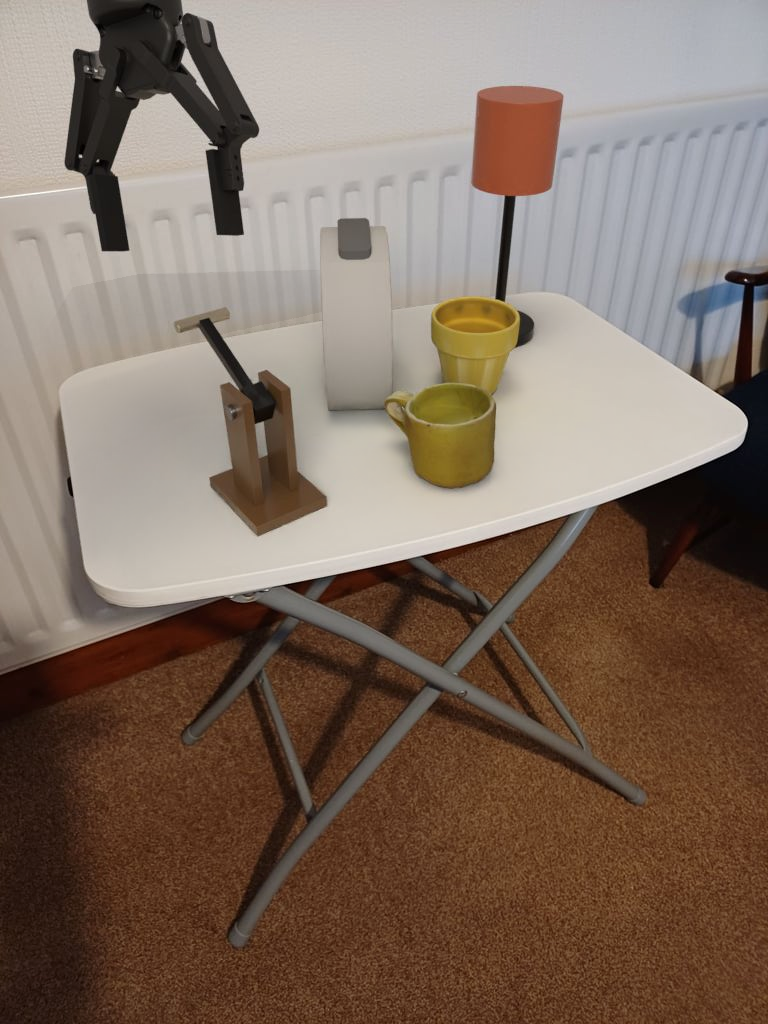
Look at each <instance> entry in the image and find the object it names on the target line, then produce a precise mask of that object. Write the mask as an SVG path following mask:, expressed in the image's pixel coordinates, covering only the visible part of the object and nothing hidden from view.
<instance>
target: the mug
mask: <svg viewBox="0 0 768 1024" xmlns="http://www.w3.org/2000/svg"><path fill="white" fill-rule="evenodd" d="M492 395H493V394H490V393H489V392H487V391H486V390H484V389H482V388H479V387H477V386H475V385H470V384H463V383H444V382H443V383H437V384H433V385H430V386H428V387H424V388H423V389H421V390H419V391H418V392H416V394H415V395H413V394H412V393H410V392H409V391H406V390H402V389H401V390H397V391H395V392H393V393H392V395H391V396H389V397H388V398H387V399H386V400H385V403H384V405H385V408H386V409H385V410H386V413H387V414H388V417H389V418H390V419H391V420H392V422H393V423H394V424H395V425H396V426H397V427H398V428H399V429H400V430H401V431H402V432H403V434H404V435H405V437H406V438H407V442H408V448H409V454H410V459H411V463H412V467H413V470H414V472H415V474H416V475H418V477H419V478H421V479H423V480H426V481H428V482H429V483H430V484H431V485H435V486H437V487H440V488H448V489H460V488H463V487H466V486H468V485H472V484H473V485H474V484H476V483H480V482H481V481H482V480H483V479H485V477H486V476H488V475H489V474H490V472H491V471H492V468H493V465H494V462H495V439H496V429H497V428H496V421H497V402H496V400H495V398H494V396H492Z"/></svg>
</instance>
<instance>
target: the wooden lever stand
mask: <svg viewBox="0 0 768 1024" xmlns="http://www.w3.org/2000/svg"><path fill="white" fill-rule="evenodd" d="M257 379H258V382H260V381H262V383H263V384H264V386H265V387H266V389H267V390H268V392H269V393H270V395H271V396H272V398H273V399H274V401H275V402H276V405H275V410H274V414H273V418H271V419H269V420H266V421H263V422H262V423H263V430H264V431H263V432H264V440H265V448H266V455H263V456H260V455H259V454H260V453H259V447H258V446H259V445H258V439H257V438H258V437H257V429H256V424H255V421H254V413H253V404H252V401H251V400H250V399H249V398H248V397H246V396H245V395H244V394H243V393H242V392H241V391H240V390H239V388H238V387H237V386H236V385H234V384H232V383H231V382H230V381H227V382H224V383H222V384H219V388H220V394H221V402H222V409H223V416H224V422H225V429H226V433H227V434H226V435H227V442H228V449H229V455H230V461H231V468H230V469H227V470H224V471H221V472H219V473H217V474H215V475H212V476H209V477H208V479H209V485H210V488H211V489H212V490H213V491H214V492H215V493H216V494H217V495H218V496H219V497H220V498H221V500H223V502H225V504H227V506H229V508H230V509H231V510H232V511H233V512H234V513H235V515H237V516H238V518H239V519H241V521H243V523H245V525H246V526H247V527H248V528H249V529H250V530H251V531H252V532H253V533H254V535H256V536H257V537H259V536H262V535H264V534H266V533H268V532H269V533H270V532H271V531H273V530H275V529H277V528H280V527H283V526H284V525H287V524H289V523H292V522H294V521H296V520H298V519H300V518H303V517H305V516H307V515H309V514H312V513H314V512H316V511H319V510H321V509H323V508H326V507H328V500H327V499H328V498H327V496H326V495H325V494H324V492H322V491H321V490H320V489H318V488H317V487H316V486H315V485H314V484H313V483H312V482H311V481H310V480H308V479H307V478H306V477H305V476H304V475H303V474H302V473H301V472H299V470H298V462H297V449H296V448H297V447H296V439H295V427H294V414H293V404H292V403H293V401H292V390H291V387H290V386H288V385H287V384H286V383H285V382H284V381H282V380H281V379H279V378H278V377H277V376H276V375H275V374H273V373H272V372H271V371H269V370H268V369H264V370H261V371H259V372H257Z"/></svg>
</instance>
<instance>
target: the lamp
mask: <svg viewBox="0 0 768 1024" xmlns="http://www.w3.org/2000/svg"><path fill="white" fill-rule="evenodd" d="M475 103H476V104H475V117H474V133H473V147H472V148H473V149H472V162H471V163H472V164H471V176H470V177H471V178H470V179H471V180H470V183H471V185H472V187H474V188H475V189H476V190H478V191H481V192H484V193H486V194H491V195H497V196H504V199H503V207H502V209H503V210H502V220H501V231H500V232H501V233H500V242H499V251H498V253H499V254H498V264H497V273H496V284H495V285H496V286H495V295H494V299H497V300H500V301H503V302H505V303H506V298H507V289H508V288H507V287H508V279H509V278H508V277H509V268H510V258H511V249H512V237H513V229H514V220H515V219H514V218H515V207H516V198H517V197H528V196H535V195H540V194H543V193H546V192H548V191H549V190H551V189H552V188H553V182H554V174H555V166H556V159H557V151H558V144H559V135H560V129H561V120H562V114H563V113H562V111H563V105H564V94H563V93H561V92H560V91H558V90H555V89H551V88H546V87H541V86H529V85H528V86H527V85H501V86H492V87H487V88H483V89H480V90H479V91H477V92H476V102H475ZM516 310H517V311H518V313H519V315H520V325H519V333H518V339H517V344H516V346H515V347H514V348H517V347H521V346H524V345H526V344H528V343H529V342H530V341H531V340H532V339H533V336H534V331H535V321H534V320H533V318H532V317H531V316H530V315H529V314H527V313H525V312H524V311H520V310H518V309H516Z"/></svg>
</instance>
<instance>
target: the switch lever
mask: <svg viewBox="0 0 768 1024" xmlns="http://www.w3.org/2000/svg"><path fill="white" fill-rule="evenodd" d="M230 317H231V314H230V311H229V309H228V308H227V306H225V307H221V308H217V309H213V310H211V311H206V312H202V313H199V314H195V315H192V316H189V317H185V318H180V319H177V320H174V321H173V326H174V330H175V332H176V333H177V334H182V333H185V332H190V331H193V330H196V329H198V330H200V332H201V334H202V335H203V336H204V338H205V339H206V341H207V343H208V344H209V346H210V348H211V349H212V350H213V352H214V353H215V355H216V357H217V358H218V360H219V361H220V363H221V364H222V366H223V367H224V369H225V370H226V372H227V373H228V375H229V376H230V378H231V379H232V381H233V382H234V384H235V386H236V388H237V389H238V390H239V391H241V392H242V393H243V394H244V395H245V396H246V397H248V398H249V399H250V400H251V401H252V404H253V413H254V421H255V425H257V424H260V423H263V421H266V420H269V419H271V418H273V414H274V410H275V405H276V402H275V401H274V399H273V398H272V396H271V395H270V393H269V392H268V390H267V389H266V387H265V386H264V384H263V383H262V381H260V382H259V381H257V382H255V383H253V381H252V380H251V378H250V377H249V375H248V374H247V373H246V370H245V369H244V368H243V366H242V364H241V363H240V362H239V360H238V359H237V358H236V356H235V354H234V353H233V351H232V350H231V348H230V347H229V345H228V344H227V343H226V341H225V339H224V338H223V336H222V335H221V333H220V332H219V330H218V329H217V327H216V325H214V324H217V323H220V322H223V321H227V320H230Z"/></svg>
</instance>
